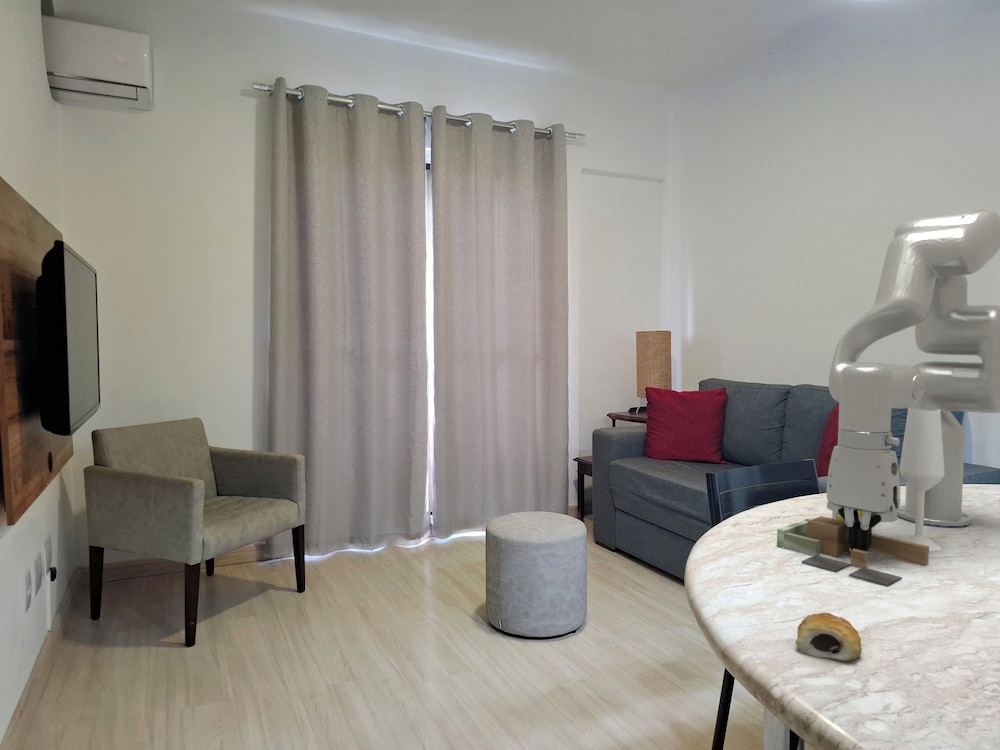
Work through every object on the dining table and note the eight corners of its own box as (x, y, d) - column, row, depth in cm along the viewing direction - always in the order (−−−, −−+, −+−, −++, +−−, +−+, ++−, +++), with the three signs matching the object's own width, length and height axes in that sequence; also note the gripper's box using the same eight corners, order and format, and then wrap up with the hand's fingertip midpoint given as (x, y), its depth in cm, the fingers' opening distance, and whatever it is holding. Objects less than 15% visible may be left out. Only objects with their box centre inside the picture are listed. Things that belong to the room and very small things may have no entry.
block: (820, 544, 118) (821, 516, 118) (849, 551, 114) (850, 522, 114) (806, 549, 115) (807, 521, 115) (836, 557, 111) (837, 527, 111)
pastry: (802, 624, 86) (803, 595, 86) (862, 636, 83) (863, 606, 82) (794, 654, 78) (795, 622, 77) (860, 669, 74) (861, 636, 74)
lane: (806, 535, 123) (807, 519, 123) (928, 564, 108) (929, 546, 108) (761, 551, 114) (761, 534, 114) (887, 586, 98) (888, 566, 98)
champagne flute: (917, 537, 122) (922, 406, 121) (950, 549, 116) (957, 410, 114) (887, 540, 120) (892, 407, 119) (920, 552, 114) (925, 412, 112)
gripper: (923, 444, 106) (918, 558, 107) (828, 433, 118) (824, 536, 119) (904, 449, 102) (899, 567, 103) (807, 437, 113) (804, 544, 114)
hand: (859, 550), depth 111 cm, fingers closed
